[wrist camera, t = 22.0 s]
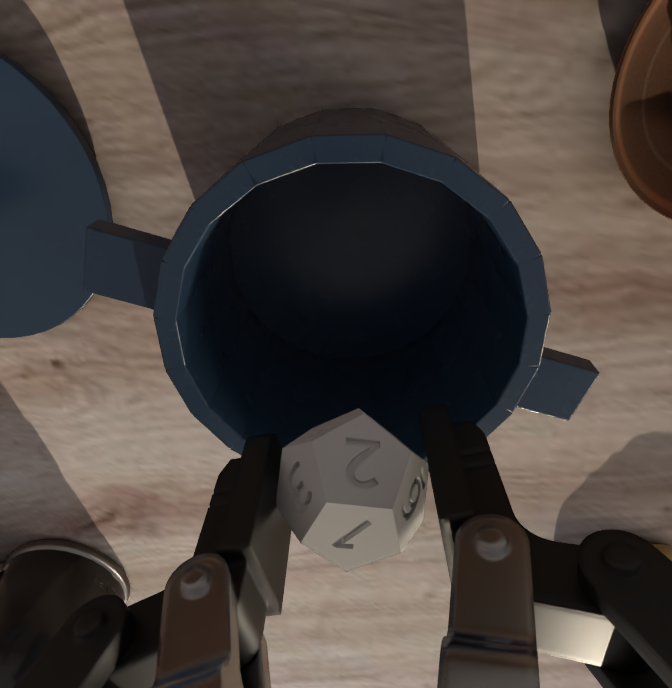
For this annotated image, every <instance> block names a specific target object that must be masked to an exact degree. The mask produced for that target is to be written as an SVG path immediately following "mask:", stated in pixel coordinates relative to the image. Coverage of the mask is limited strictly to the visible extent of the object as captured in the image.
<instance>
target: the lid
mask: <svg viewBox="0 0 672 688" xmlns="http://www.w3.org/2000/svg"><path fill="white" fill-rule="evenodd" d="M98 219H101V220H104V221H108V222H111V223H113V220H112V212H111V204H110V200H109V196H108V192H107V188H106V184H105V182H104V179H103V176H102V174H101V171H100V168H99V166H98V163H97V161H96V159H95V157H94V155H93V153H92V151H91V149H90V147H89V145H88V143H87V142H86V140H85V138H84V137H83V135H82V134H81V132H80V131H79V129H78V128H77V126H76V125H75V123H74V121H73V120H72V119H71V118H70V116H69V115H68V114H67V113H66V111H65V110H64V109H63V108H62V106H61V105H60V104H59V103H58V101H57V100H56V99H55V98H54V97H53V96H52V95H51V94H50V93H49V92H48V91H47V90H46V89H45V88H44V87H43V86H42V85H41V84H40V83H39V82H38V81H37V80H36V79H35V78H33V77H32V76H31V75H30V74H29V73H27V72H26V71H25V70H24V69H23V68H22V67H20V66H19V65H18V64H17V63H15V62H14V61H12V60H11V59H9V58H8V57H6V56H5V55H3V54H2V53H0V338H15V337H22V336H29V335H34V334H37V333H41V332H44V331H47V330H49V329H52V328H54V327H56V326H58V325H60V324H62V323H64V322H65V321H67V320H68V319H70V318H71V317H73V316H74V315H75V314H76V313H77V312H78V311H79V310H80V309H81V308H83V307H84V306H85V305H86V304H87V303H88V302H89V301H90V299H91V298H92V297H93V295H94V294H95V293H91V292H88V291H84V290H83V277H84V259H85V241H86V227H87V226H89V225H90V224H92V223H93V222H95V221H97V220H98Z"/></svg>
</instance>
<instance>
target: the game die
mask: <svg viewBox="0 0 672 688" xmlns="http://www.w3.org/2000/svg"><path fill="white" fill-rule="evenodd" d="M428 470H429V467H428V463H427V462H426V461H424V460H423V459H422V458H421V457H420V456H418V455H417V454H416V453H415V452H413V451H412V450H411V449H410V448H409V447H407V446H406V445H405V444H404V443H402V442H401V441H400V440H399V439H397V438H396V437H395V436H394V435H392V434H391V433H390V432H389V431H387V430H386V429H385V428H383V427H382V426H381V425H380V424H378V423H377V422H376V421H375V420H373V419H372V418H371V417H369V416H368V415H367V414H366V413H364V412H363V411H362V410H360V409H359V408H358V409H356V410H353V411H351V412H349V413H346V414H344V415H342V416H339V417H337V418H335V419H332V420H330V421H328V422H325V423H323V424H321V425H319V426H316V427H314V428H312V429H310V430H309V431H308V432H306V433H305V434H303V435H302V436H300V437H299V438H297V439H296V440H294V441H293V442H291V443H290V444H288V445H287V446H285V447H284V448H282V455H281V463H280V472H279V480H278V488H277V497H276V506H277V509H278V510H279V512H280V513H281V515H282V516H283V518H284V519H285V521H286V522H287V524H288V525H289V526H290V528H291V529H292V531H293V532H294V534H295V535H296V537H297V538H298V540H299V541H300V543H302V544H303V545H305V546H306V547H308V548H309V549H311V550H313V551H314V552H316V553H317V554H319V555H321V556H322V557H324V558H325V559H327V560H329V561H330V562H332V563H333V564H335V565H336V566H338V567H340V568H341V569H343V570H344V571H346V572H347V571H350V570H353V569H356V568H359V567H361V566H364V565H367V564H370V563H373V562H376V561H379V560H382V559H385V558H388V557H391V556H394V555H397V554H400V553H401V552H402V551H403V550H404V548H405V547H406V545H407V544H408V542H409V541H410V539H411V538H412V536H413V535H414V533H415V532H416V531H417V529H418V528H419V526H420V525H421V523H422V522H423V517H424V507H425V498H426V489H427V479H428Z"/></svg>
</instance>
